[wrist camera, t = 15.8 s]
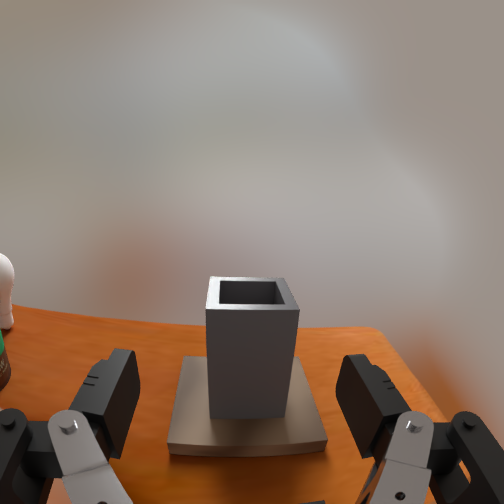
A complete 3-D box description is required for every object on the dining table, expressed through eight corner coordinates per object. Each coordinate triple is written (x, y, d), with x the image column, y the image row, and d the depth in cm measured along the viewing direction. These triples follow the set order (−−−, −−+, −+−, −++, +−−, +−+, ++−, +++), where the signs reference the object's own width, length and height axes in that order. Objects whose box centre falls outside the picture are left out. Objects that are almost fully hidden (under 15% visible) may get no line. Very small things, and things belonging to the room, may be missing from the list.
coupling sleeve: (209, 418, 22) (205, 308, 19) (211, 374, 27) (210, 276, 25) (284, 417, 22) (299, 309, 19) (274, 374, 28) (283, 278, 25)
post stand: (169, 453, 19) (153, 371, 17) (185, 367, 30) (180, 294, 28) (324, 450, 20) (348, 370, 18) (296, 367, 31) (306, 296, 29)
